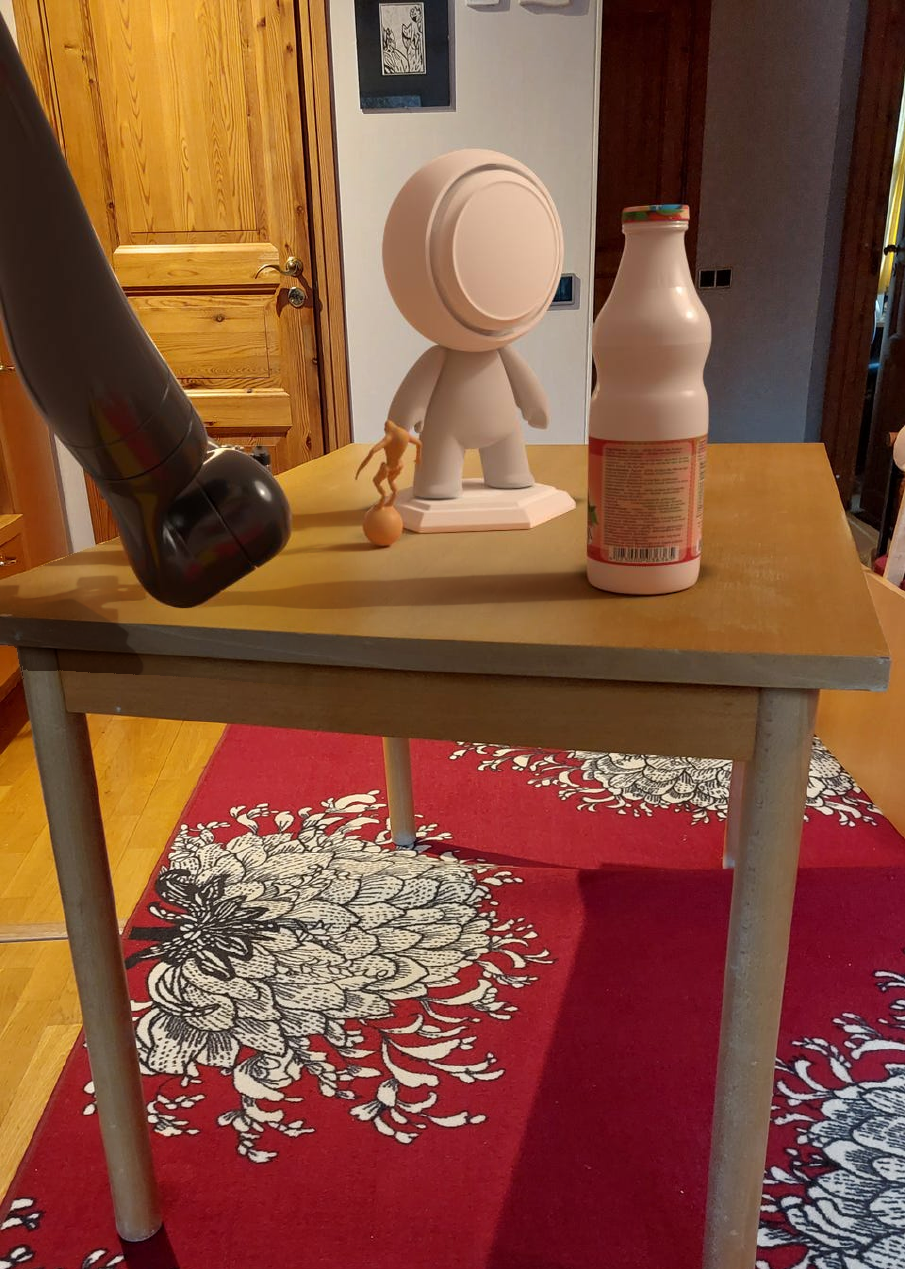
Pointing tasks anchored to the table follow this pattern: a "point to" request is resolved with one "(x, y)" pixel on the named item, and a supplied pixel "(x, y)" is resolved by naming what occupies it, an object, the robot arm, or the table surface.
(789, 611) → the table surface
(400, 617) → the table surface
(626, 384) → the fruit juice
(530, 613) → the table surface
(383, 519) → the figurine
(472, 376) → the big headed doll
